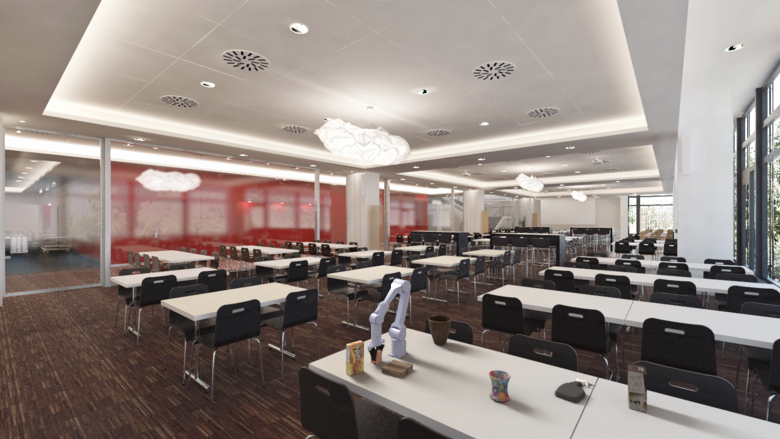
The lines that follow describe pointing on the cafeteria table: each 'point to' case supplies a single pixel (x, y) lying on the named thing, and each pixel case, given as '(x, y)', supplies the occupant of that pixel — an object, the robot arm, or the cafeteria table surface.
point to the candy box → (354, 357)
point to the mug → (499, 385)
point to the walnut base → (397, 368)
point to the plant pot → (439, 328)
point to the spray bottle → (572, 390)
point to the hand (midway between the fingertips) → (376, 359)
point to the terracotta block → (378, 357)
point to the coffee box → (637, 387)
